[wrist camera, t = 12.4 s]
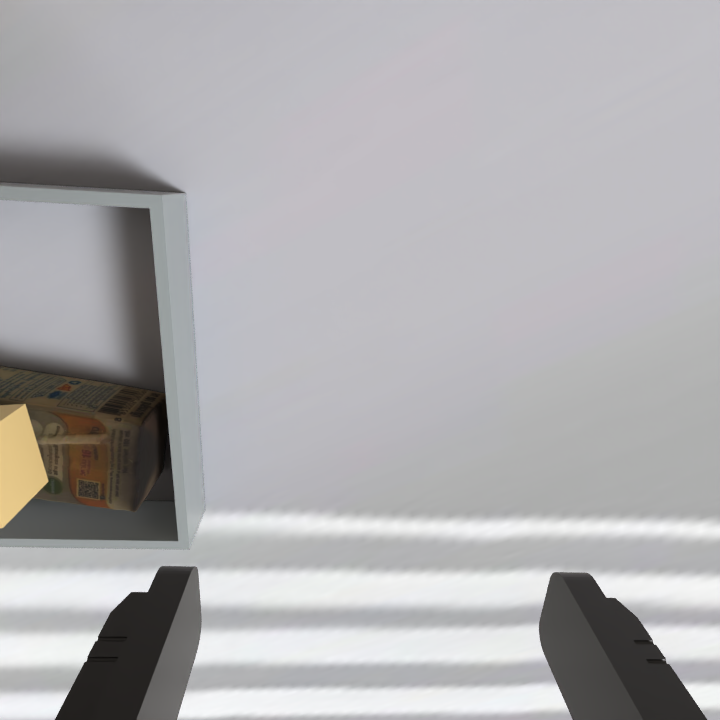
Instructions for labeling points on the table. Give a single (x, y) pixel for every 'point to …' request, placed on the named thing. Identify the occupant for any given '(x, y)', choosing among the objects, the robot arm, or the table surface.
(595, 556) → the table surface
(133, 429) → the beverage carton
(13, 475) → the yellow box
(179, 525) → the tote tray
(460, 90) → the table surface
